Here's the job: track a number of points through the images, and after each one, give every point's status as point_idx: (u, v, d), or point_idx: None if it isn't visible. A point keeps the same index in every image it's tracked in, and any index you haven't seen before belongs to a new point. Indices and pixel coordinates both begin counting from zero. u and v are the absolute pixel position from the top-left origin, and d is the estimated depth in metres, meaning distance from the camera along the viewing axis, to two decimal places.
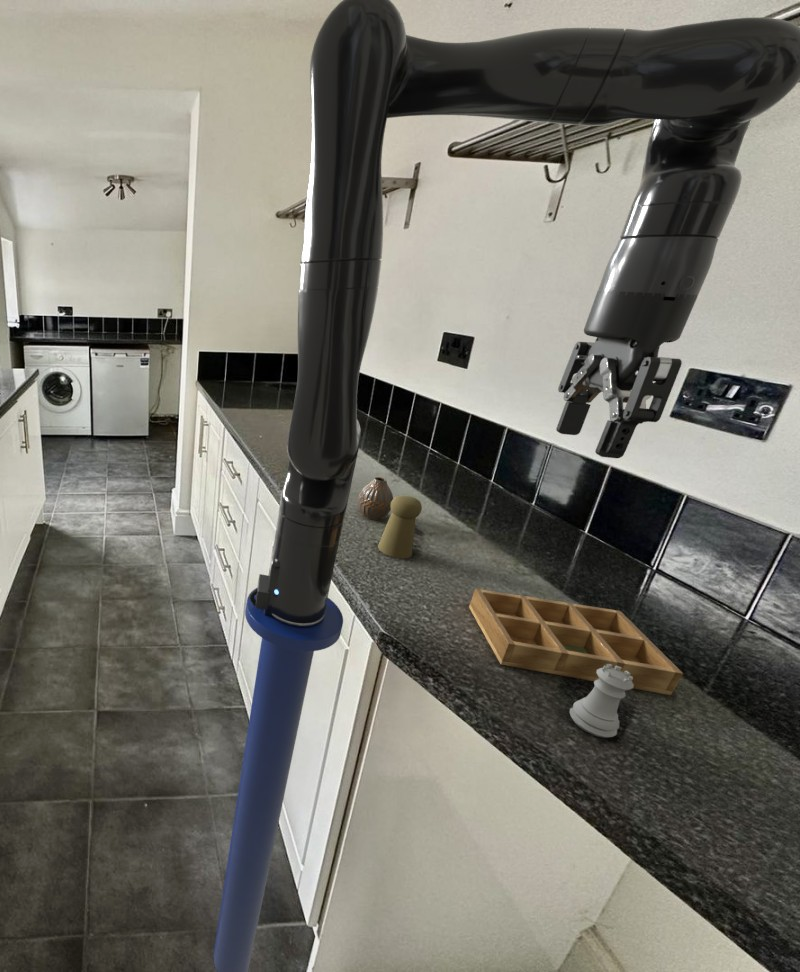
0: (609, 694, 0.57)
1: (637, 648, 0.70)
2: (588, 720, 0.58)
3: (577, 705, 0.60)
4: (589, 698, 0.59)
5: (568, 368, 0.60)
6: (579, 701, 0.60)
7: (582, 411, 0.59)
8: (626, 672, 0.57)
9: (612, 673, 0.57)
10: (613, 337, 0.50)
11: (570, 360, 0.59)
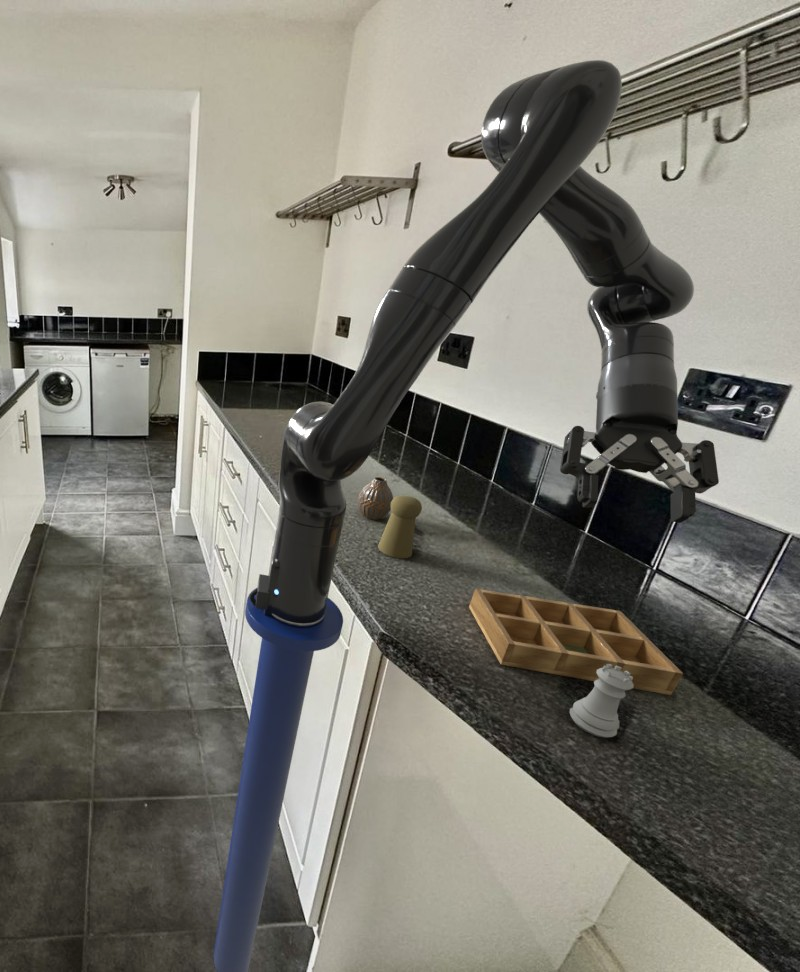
0: (609, 694, 0.57)
1: (637, 648, 0.70)
2: (588, 720, 0.58)
3: (577, 705, 0.60)
4: (589, 698, 0.59)
5: (574, 446, 0.64)
6: (579, 701, 0.60)
7: None
8: (626, 672, 0.57)
9: (612, 673, 0.57)
10: (672, 420, 0.61)
11: (574, 440, 0.64)
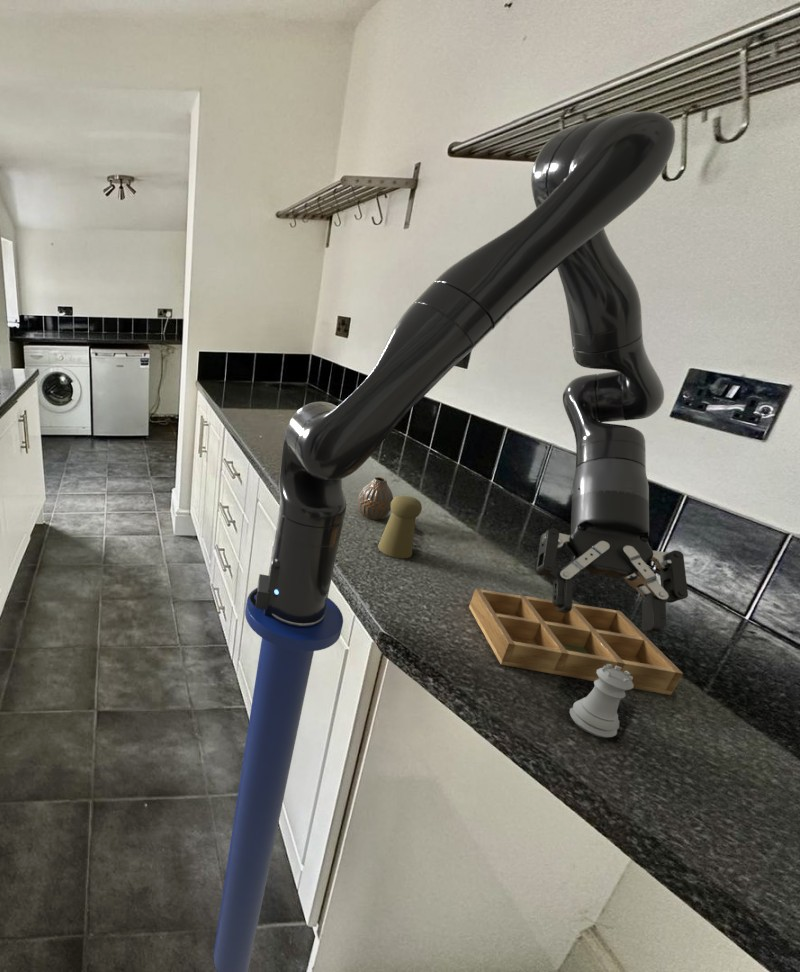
0: (609, 694, 0.57)
1: (637, 648, 0.70)
2: (588, 720, 0.58)
3: (577, 705, 0.60)
4: (589, 698, 0.59)
5: (550, 549, 0.65)
6: (579, 701, 0.60)
7: None
8: (626, 672, 0.57)
9: (612, 673, 0.57)
10: (644, 530, 0.62)
11: (550, 543, 0.65)
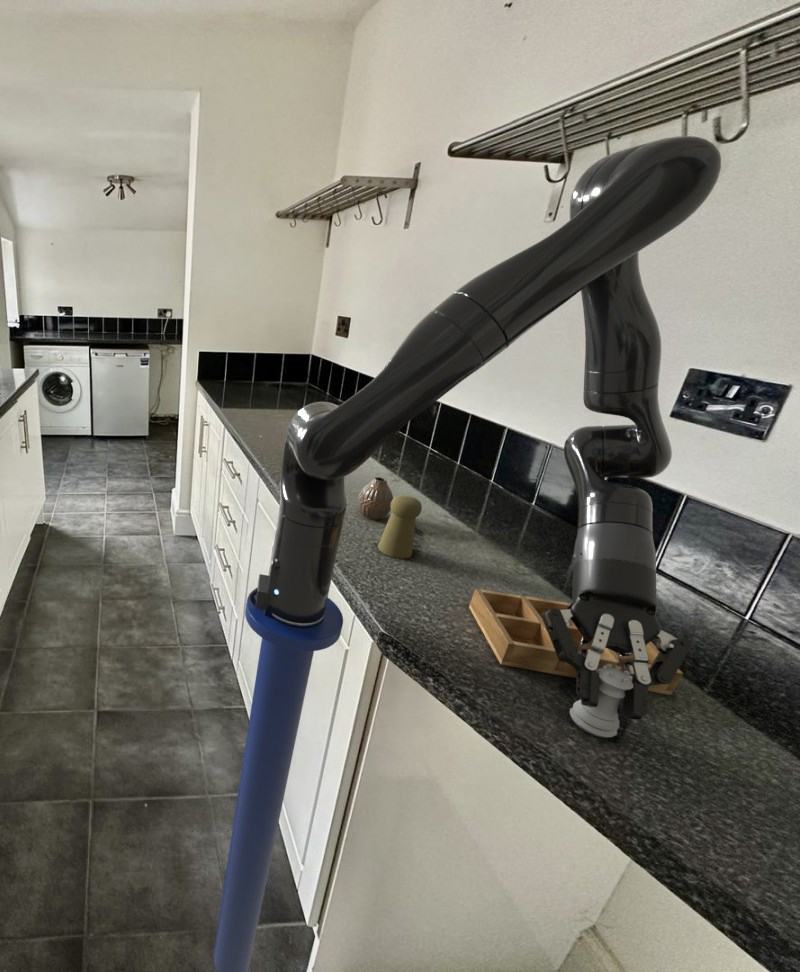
0: (609, 694, 0.57)
1: None
2: (588, 720, 0.58)
3: (577, 705, 0.60)
4: None
5: (563, 634, 0.60)
6: (579, 701, 0.60)
7: None
8: (626, 672, 0.57)
9: (612, 673, 0.57)
10: (651, 604, 0.58)
11: (559, 627, 0.60)
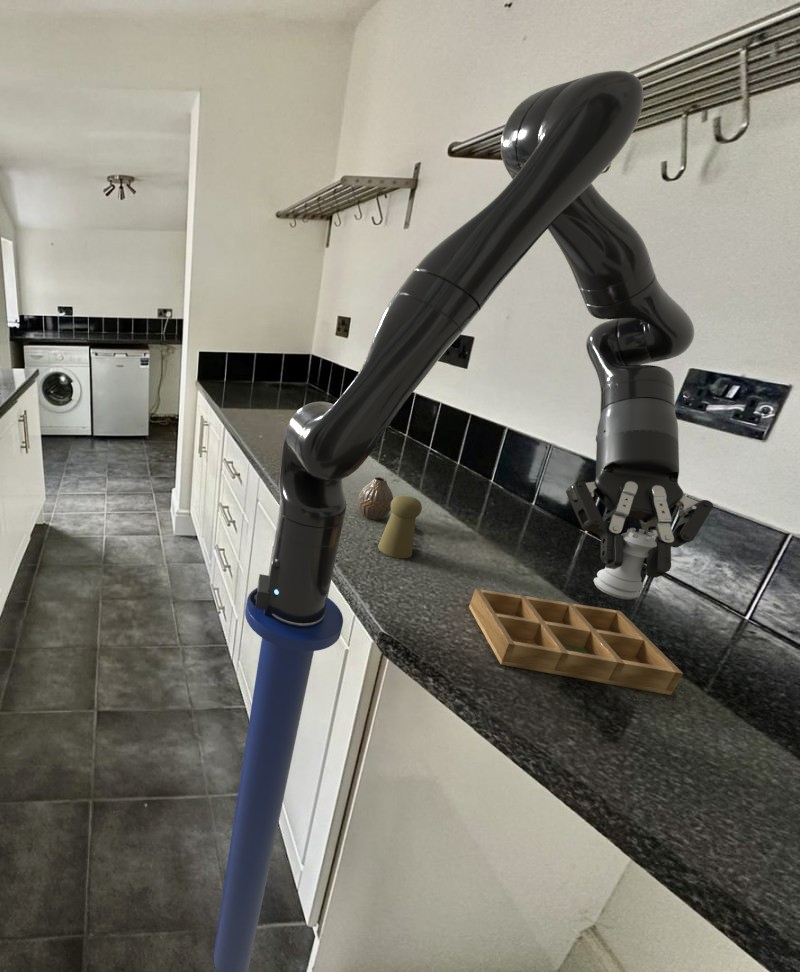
0: (633, 554, 0.59)
1: (637, 648, 0.70)
2: (612, 583, 0.60)
3: (601, 572, 0.62)
4: None
5: (588, 503, 0.62)
6: (603, 569, 0.63)
7: None
8: (649, 533, 0.59)
9: (636, 534, 0.59)
10: (674, 469, 0.60)
11: (584, 496, 0.62)
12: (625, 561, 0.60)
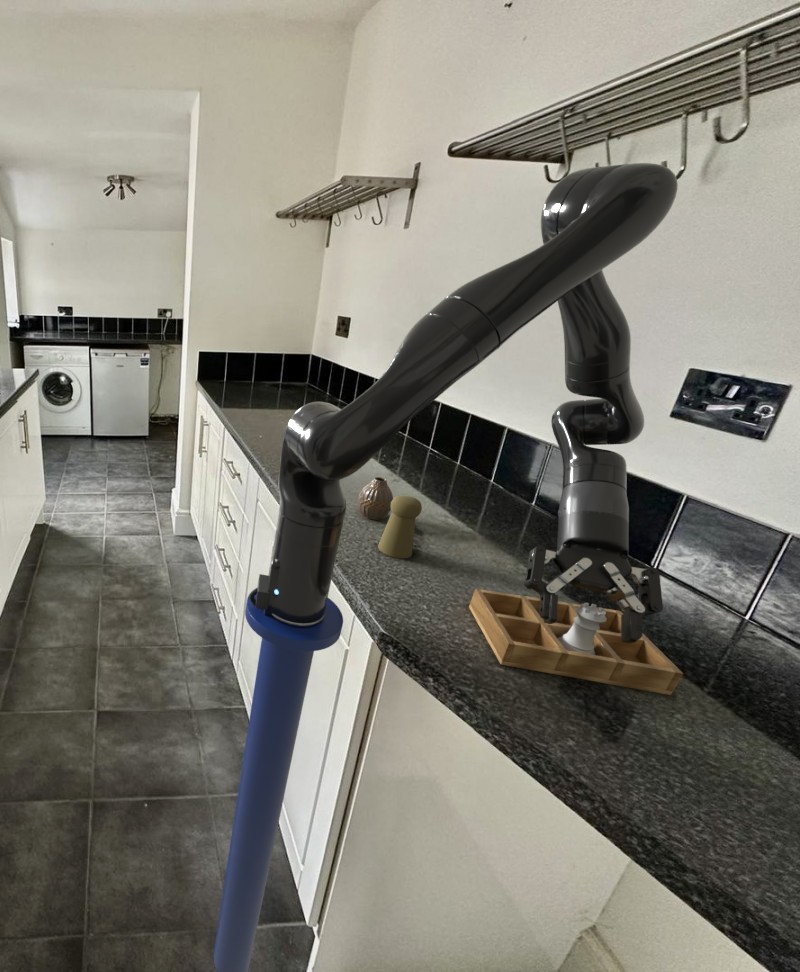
0: (586, 627, 0.67)
1: (637, 648, 0.70)
2: None
3: (559, 640, 0.70)
4: (569, 633, 0.69)
5: (537, 565, 0.70)
6: (561, 637, 0.70)
7: None
8: (600, 608, 0.67)
9: (588, 609, 0.67)
10: (623, 548, 0.67)
11: (537, 559, 0.70)
12: (579, 632, 0.67)
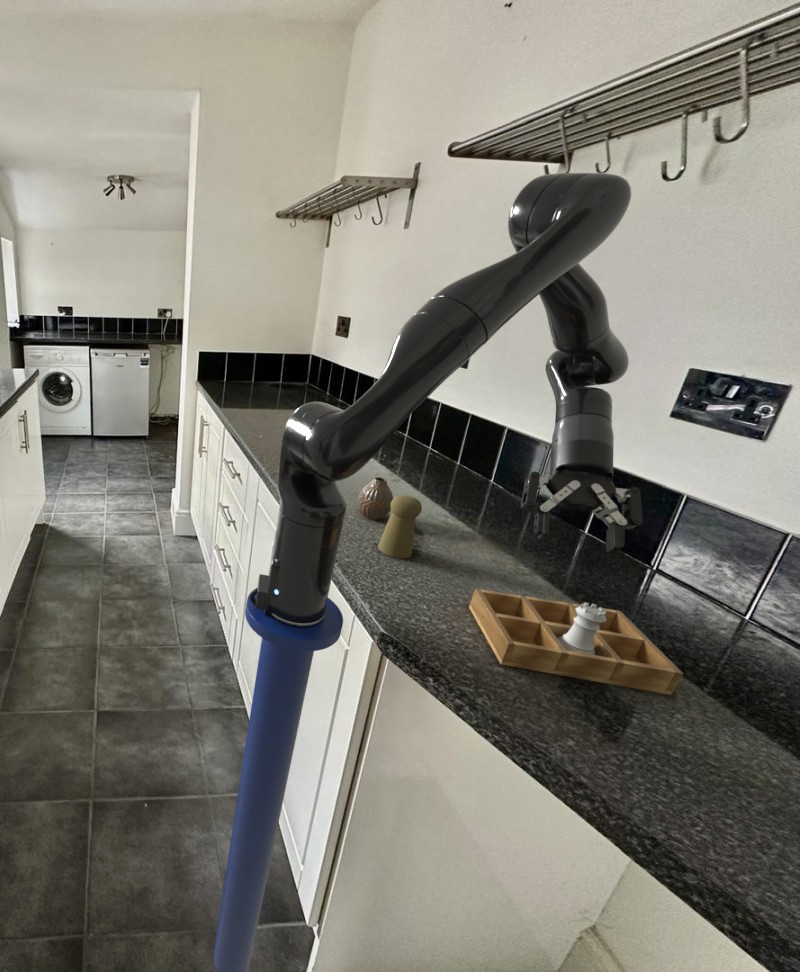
0: (586, 627, 0.67)
1: (637, 648, 0.70)
2: None
3: (559, 640, 0.70)
4: (569, 633, 0.69)
5: (532, 489, 0.79)
6: (561, 637, 0.70)
7: None
8: (600, 608, 0.67)
9: (588, 609, 0.67)
10: (608, 470, 0.76)
11: (532, 483, 0.79)
12: (579, 632, 0.67)
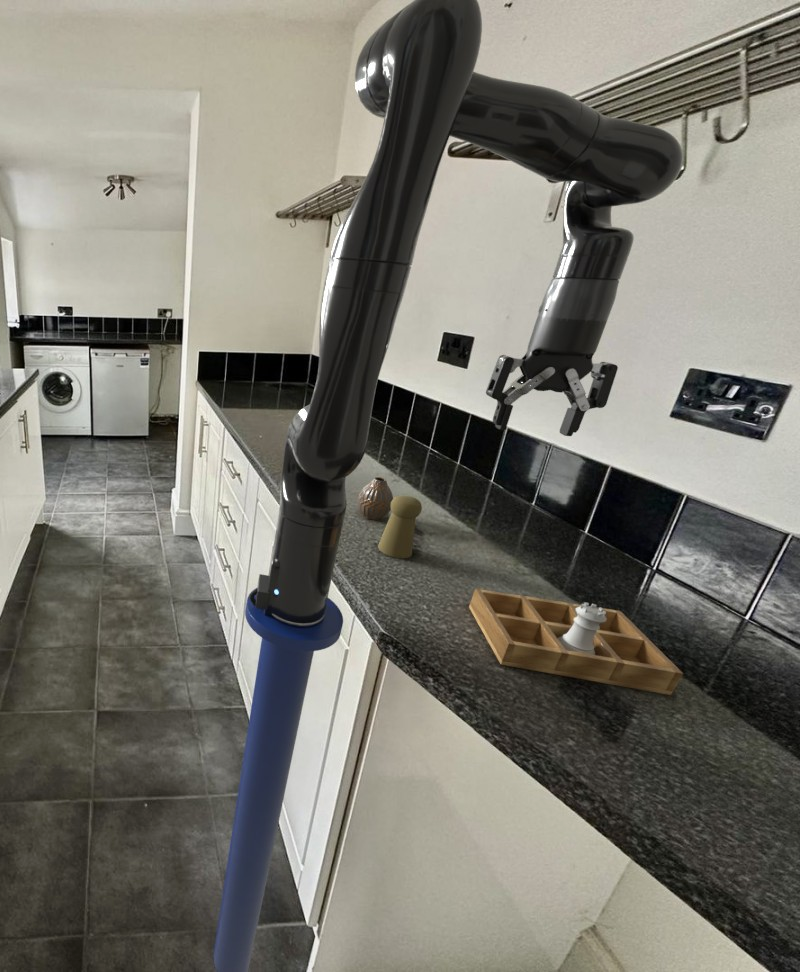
0: (586, 627, 0.67)
1: (637, 648, 0.70)
2: None
3: (559, 640, 0.70)
4: (569, 633, 0.69)
5: (501, 379, 0.71)
6: (561, 637, 0.70)
7: None
8: (600, 608, 0.67)
9: (588, 609, 0.67)
10: (590, 354, 0.67)
11: (503, 372, 0.71)
12: (579, 632, 0.67)
